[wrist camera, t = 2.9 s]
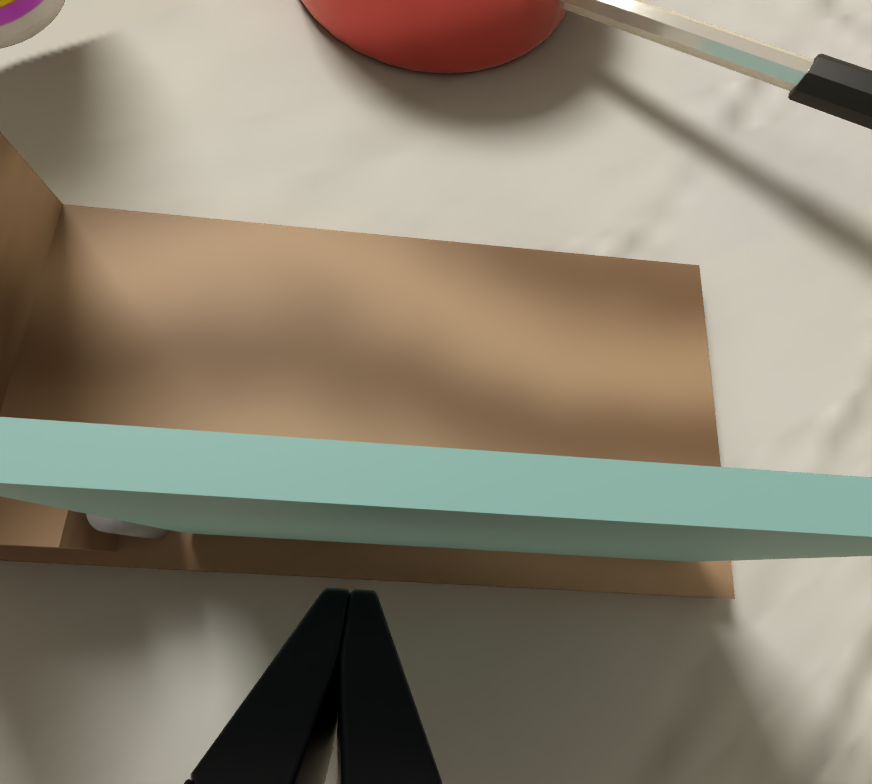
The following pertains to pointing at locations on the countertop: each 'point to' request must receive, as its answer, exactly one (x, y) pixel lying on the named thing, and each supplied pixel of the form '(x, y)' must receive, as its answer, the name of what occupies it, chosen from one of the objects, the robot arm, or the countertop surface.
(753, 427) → the countertop surface
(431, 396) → the cabinet base
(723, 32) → the frying pan
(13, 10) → the supplement bottle
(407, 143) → the countertop surface
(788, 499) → the door
